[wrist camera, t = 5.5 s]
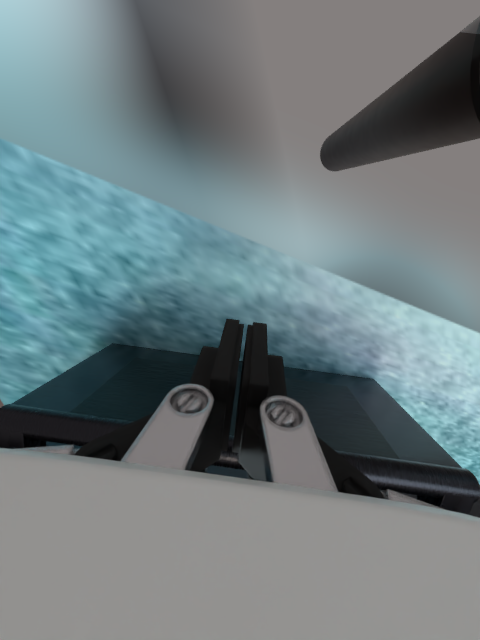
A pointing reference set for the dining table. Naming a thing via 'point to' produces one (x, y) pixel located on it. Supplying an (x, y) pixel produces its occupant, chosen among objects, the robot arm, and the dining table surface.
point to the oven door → (302, 385)
